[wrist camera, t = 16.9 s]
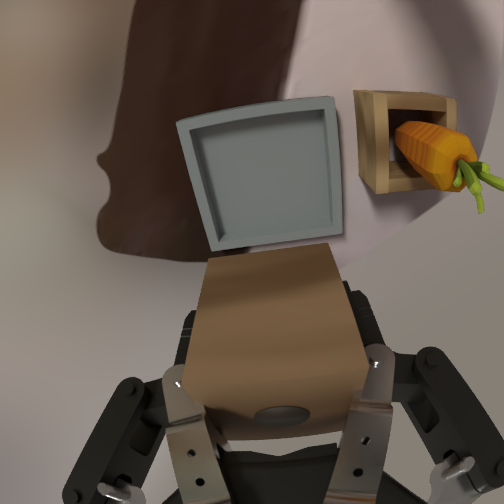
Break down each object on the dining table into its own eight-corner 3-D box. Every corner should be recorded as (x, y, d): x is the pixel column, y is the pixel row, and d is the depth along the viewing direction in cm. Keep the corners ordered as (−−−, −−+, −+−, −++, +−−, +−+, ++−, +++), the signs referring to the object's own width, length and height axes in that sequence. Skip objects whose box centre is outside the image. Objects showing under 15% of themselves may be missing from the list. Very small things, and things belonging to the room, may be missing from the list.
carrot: (423, 123, 23) (523, 175, 11) (404, 161, 26) (491, 235, 13) (387, 100, 22) (489, 134, 10) (368, 141, 25) (452, 206, 13)
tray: (181, 119, 24) (175, 122, 22) (328, 96, 23) (334, 97, 21) (214, 240, 32) (211, 251, 30) (337, 223, 30) (342, 233, 29)
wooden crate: (353, 90, 22) (372, 93, 18) (428, 92, 21) (456, 99, 17) (358, 175, 27) (376, 194, 23) (428, 170, 26) (452, 188, 22)
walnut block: (208, 258, 12) (180, 387, 7) (327, 242, 11) (370, 368, 6) (233, 334, 15) (225, 442, 10) (328, 323, 14) (349, 430, 9)
